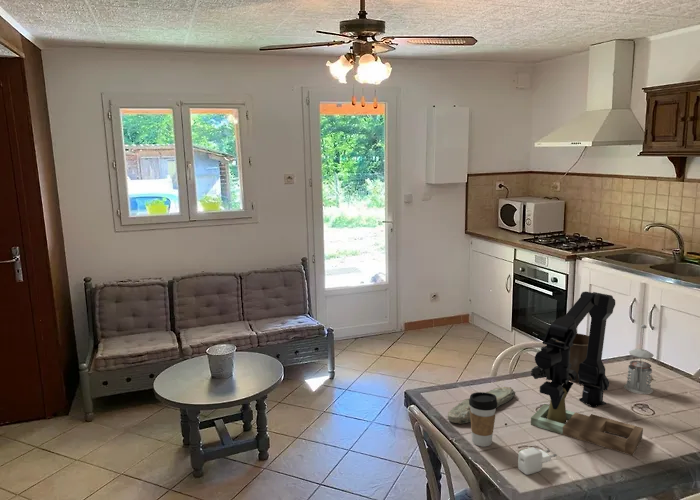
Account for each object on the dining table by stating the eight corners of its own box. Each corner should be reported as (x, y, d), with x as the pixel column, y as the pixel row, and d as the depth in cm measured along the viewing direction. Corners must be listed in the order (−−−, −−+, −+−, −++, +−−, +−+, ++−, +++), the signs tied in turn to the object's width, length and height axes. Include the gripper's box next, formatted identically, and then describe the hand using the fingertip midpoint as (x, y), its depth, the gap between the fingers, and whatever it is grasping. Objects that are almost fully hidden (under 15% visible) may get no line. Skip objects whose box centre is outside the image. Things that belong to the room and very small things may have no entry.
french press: (654, 386, 207) (659, 323, 202) (651, 398, 197) (657, 331, 193) (625, 381, 212) (630, 319, 208) (621, 392, 202) (626, 327, 198)
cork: (566, 416, 181) (568, 385, 179) (566, 424, 176) (568, 392, 174) (546, 413, 183) (548, 382, 181) (547, 422, 178) (548, 390, 176)
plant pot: (548, 369, 224) (550, 332, 221) (584, 369, 223) (587, 332, 220) (560, 384, 209) (563, 345, 206) (600, 385, 209) (603, 345, 206)
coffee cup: (490, 451, 163) (492, 404, 160) (463, 444, 167) (465, 398, 165) (499, 439, 170) (501, 393, 167) (473, 432, 174) (474, 388, 172)
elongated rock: (522, 401, 199) (498, 394, 206) (522, 387, 198) (498, 380, 206) (464, 429, 175) (440, 420, 183) (464, 413, 175) (440, 404, 182)
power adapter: (545, 459, 158) (547, 440, 157) (558, 467, 154) (559, 448, 153) (515, 468, 154) (516, 449, 153) (527, 477, 150) (528, 457, 149)
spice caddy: (642, 438, 169) (642, 428, 169) (632, 455, 160) (633, 444, 159) (544, 410, 188) (544, 401, 188) (530, 424, 179) (531, 414, 178)
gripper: (545, 347, 188) (543, 390, 191) (524, 364, 174) (522, 409, 177) (578, 354, 181) (576, 398, 184) (560, 372, 167) (557, 420, 170)
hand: (557, 406), depth 179 cm, fingers closed on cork, 4 cm apart
